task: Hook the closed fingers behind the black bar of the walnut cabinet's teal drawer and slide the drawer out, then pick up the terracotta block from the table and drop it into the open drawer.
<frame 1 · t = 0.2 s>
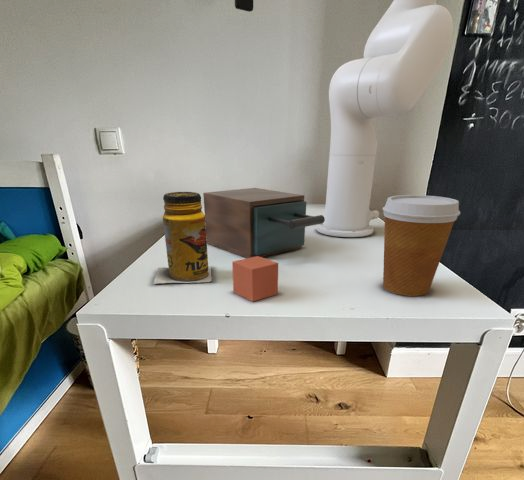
hand: (263, 2, 57), 36 cm above the table, tool pointing down, fingers open, 9 cm apart
condiment: (183, 277, 60), on the table
disposable coffee cup: (405, 289, 56), on the table
drawer: (270, 224, 71), point 5 cm above the table, slide at 0.0 cm
block: (255, 293, 54), on the table
cabinet: (253, 245, 77), on the table
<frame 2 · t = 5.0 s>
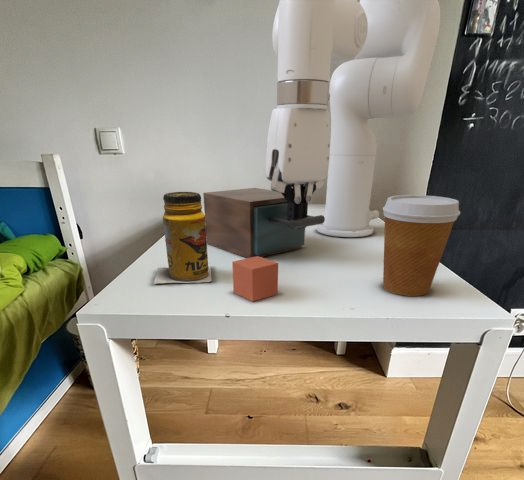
hand: (296, 226, 66), 6 cm above the table, tool pointing down, fingers closed
drawer: (270, 224, 71), point 5 cm above the table, slide at 0.0 cm, touching gripper
everything else where it was.
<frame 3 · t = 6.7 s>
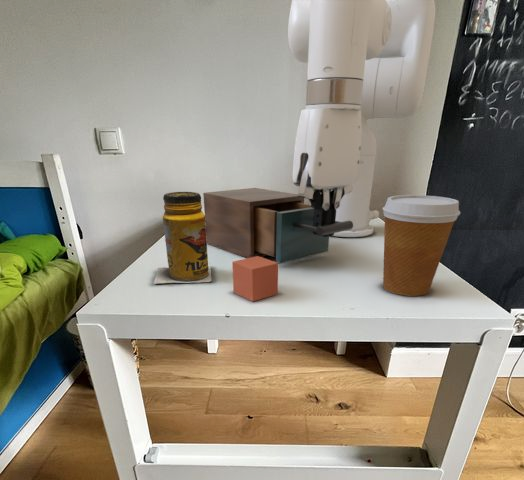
hand: (323, 234, 62), 5 cm above the table, tool pointing down, fingers closed
drawer: (292, 230, 67), point 5 cm above the table, slide at 6.1 cm
everything else where it was.
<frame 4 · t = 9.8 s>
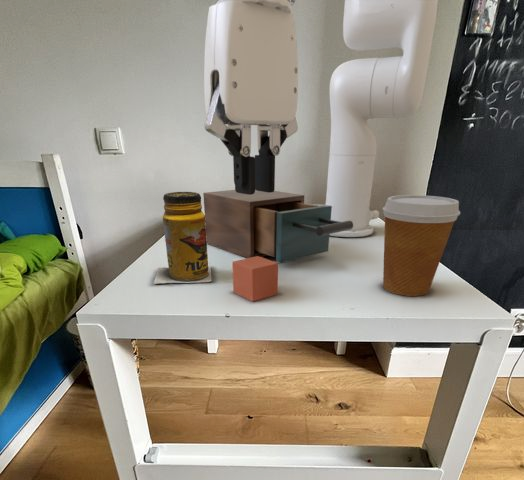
hand: (254, 191, 47), 13 cm above the table, tool pointing down, fingers closed
nothing on the table moved.
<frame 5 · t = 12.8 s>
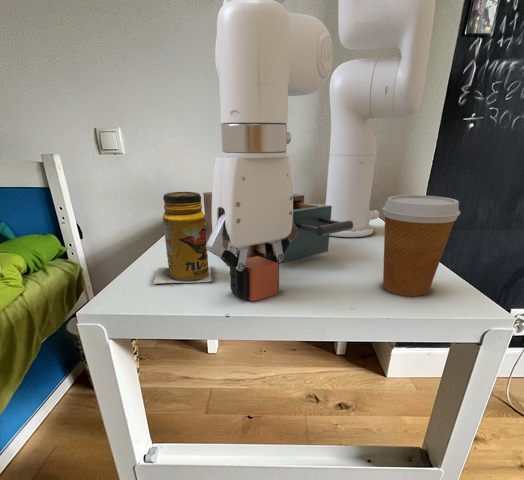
hand: (255, 291, 54), 0 cm above the table, tool pointing down, fingers closed on block, 4 cm apart
block: (255, 293, 54), on the table, touching gripper
everything else where it was.
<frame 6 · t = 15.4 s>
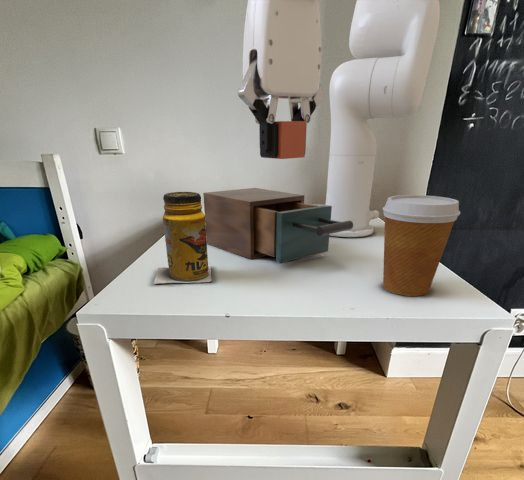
hand: (282, 154, 55), 17 cm above the table, tool pointing down, fingers closed on block, 4 cm apart
block: (282, 157, 55), point 16 cm above the table, touching gripper
everything else where it was.
when the fingers open (9 cm above the table, at t = 18.3 s): block drops 6 cm, resting on drawer.
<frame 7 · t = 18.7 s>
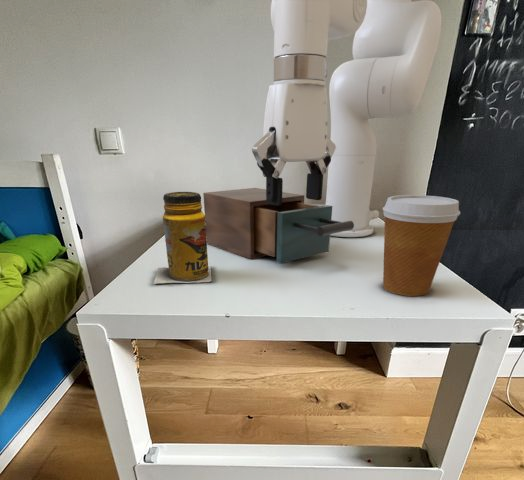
hand: (294, 201, 64), 10 cm above the table, tool pointing down, fingers open, 8 cm apart
drawer: (293, 230, 67), point 5 cm above the table, slide at 6.2 cm, touching block
block: (293, 241, 67), point 3 cm above the table, tilted 25°, touching drawer
everything else where it was.
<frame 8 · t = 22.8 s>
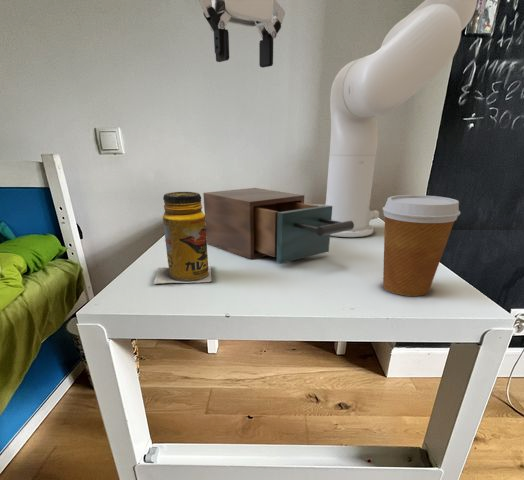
hand: (245, 63, 69), 30 cm above the table, tool pointing down, fingers open, 9 cm apart
nothing on the table moved.
at the end: drawer slide at 6.2 cm; block inside the target area in the drawer (2.5 cm from its centre), point 2.9 cm above the cabinet's base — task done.
